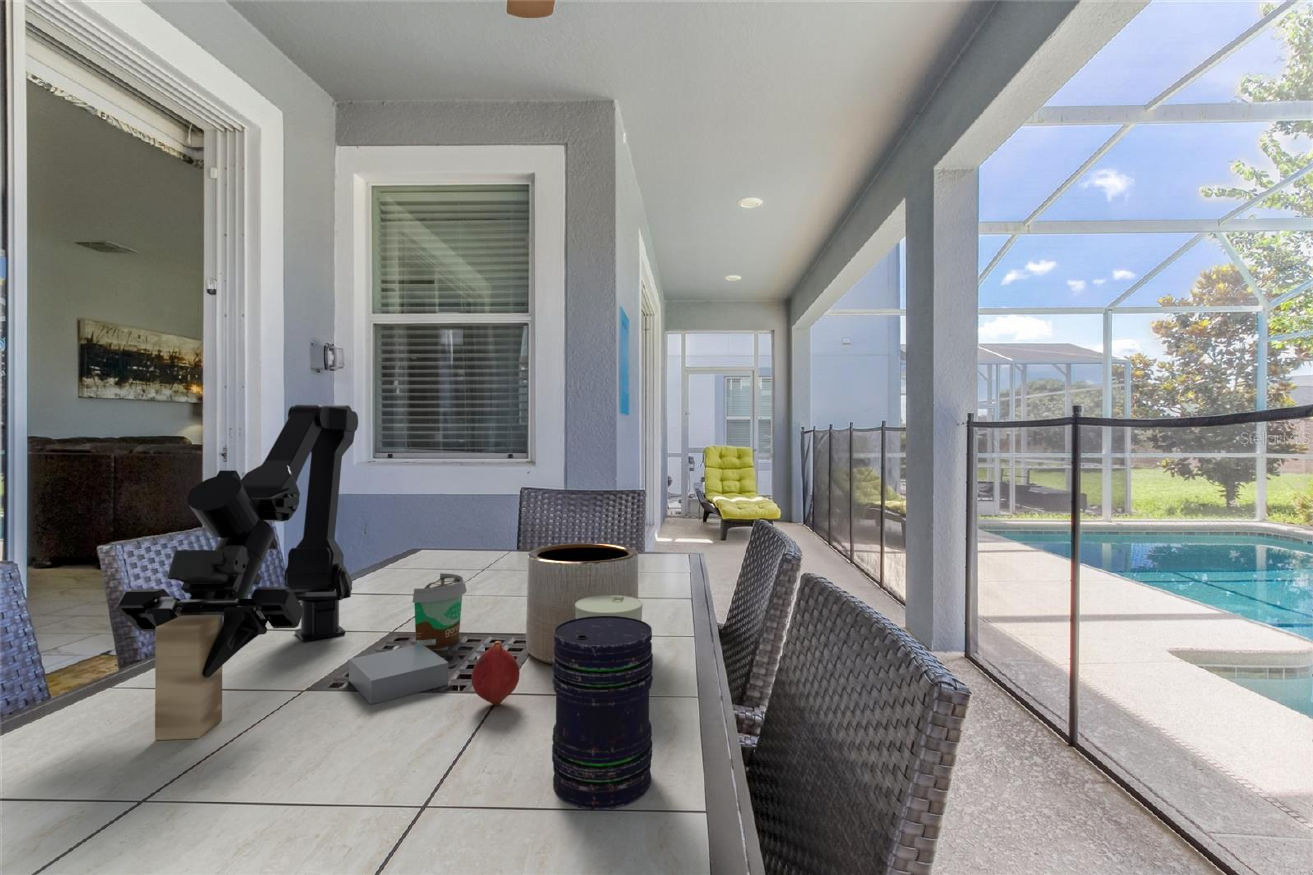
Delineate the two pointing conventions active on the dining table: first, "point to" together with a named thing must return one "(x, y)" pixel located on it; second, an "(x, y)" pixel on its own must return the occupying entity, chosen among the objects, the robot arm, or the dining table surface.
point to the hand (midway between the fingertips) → (182, 676)
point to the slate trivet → (397, 673)
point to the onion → (495, 674)
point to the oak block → (186, 678)
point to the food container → (439, 611)
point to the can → (609, 606)
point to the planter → (572, 586)
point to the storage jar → (602, 711)
